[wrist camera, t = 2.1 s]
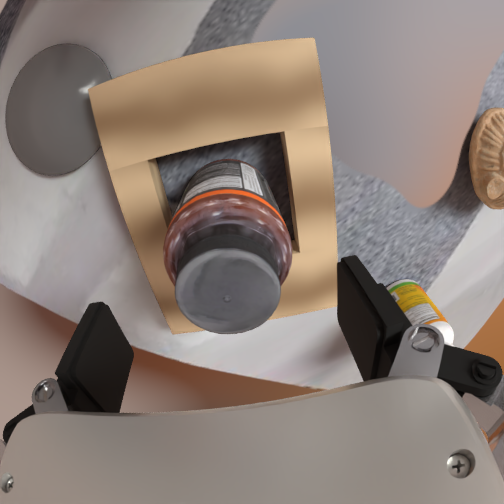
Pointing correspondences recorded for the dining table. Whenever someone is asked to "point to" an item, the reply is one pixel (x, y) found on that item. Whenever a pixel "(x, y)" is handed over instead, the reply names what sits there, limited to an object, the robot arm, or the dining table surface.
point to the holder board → (220, 130)
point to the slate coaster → (55, 109)
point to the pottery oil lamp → (488, 158)
